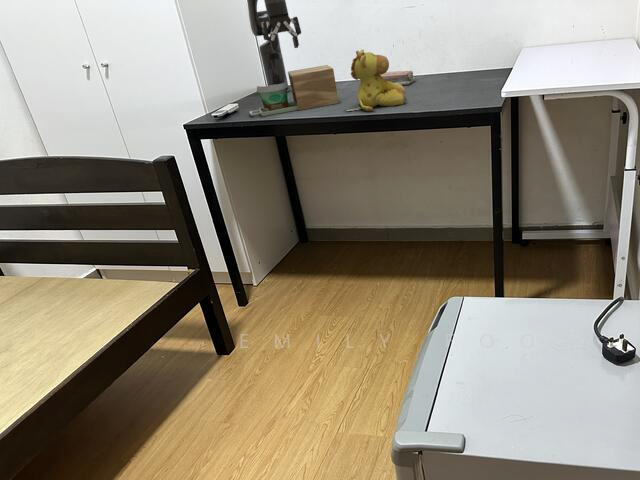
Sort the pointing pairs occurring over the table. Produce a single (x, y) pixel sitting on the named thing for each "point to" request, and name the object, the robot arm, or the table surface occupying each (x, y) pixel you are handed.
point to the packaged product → (399, 77)
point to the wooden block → (313, 87)
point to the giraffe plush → (375, 82)
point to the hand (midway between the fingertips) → (286, 49)
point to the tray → (275, 110)
